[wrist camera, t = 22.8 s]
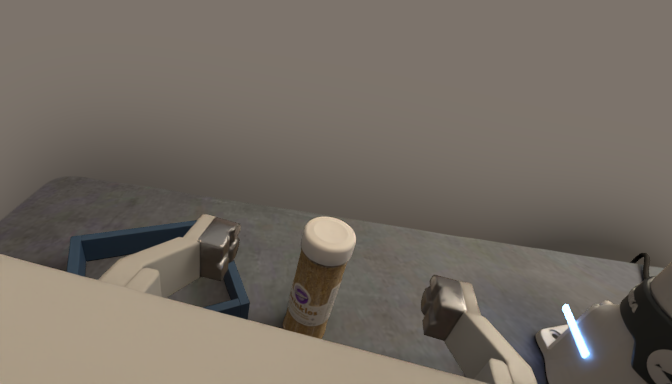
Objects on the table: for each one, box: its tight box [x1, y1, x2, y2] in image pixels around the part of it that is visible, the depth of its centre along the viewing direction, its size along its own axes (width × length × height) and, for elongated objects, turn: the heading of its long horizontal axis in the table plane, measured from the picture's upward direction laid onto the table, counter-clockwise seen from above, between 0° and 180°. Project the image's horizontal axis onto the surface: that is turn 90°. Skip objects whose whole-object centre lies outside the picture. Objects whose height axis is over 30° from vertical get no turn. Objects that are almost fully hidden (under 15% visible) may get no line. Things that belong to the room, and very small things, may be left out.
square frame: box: [67, 220, 250, 319], centre depth 34 cm, size 15×14×3 cm
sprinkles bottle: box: [283, 217, 356, 339], centre depth 31 cm, size 5×5×14 cm
